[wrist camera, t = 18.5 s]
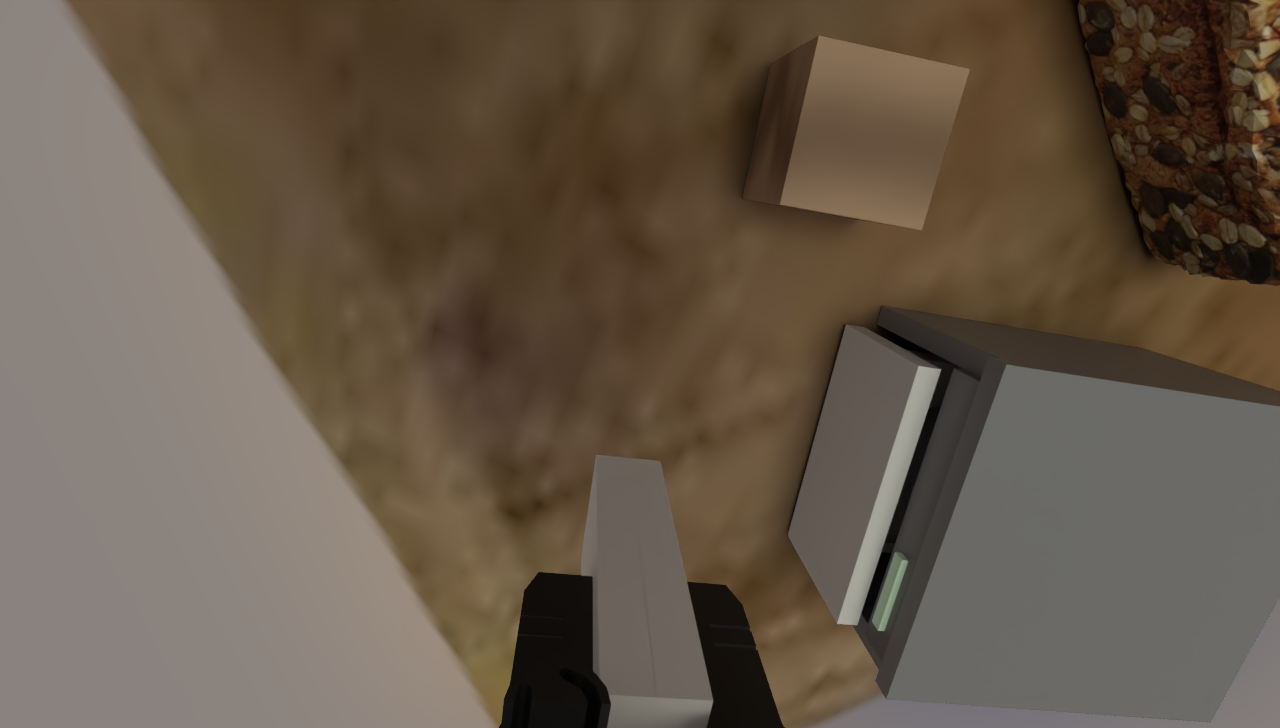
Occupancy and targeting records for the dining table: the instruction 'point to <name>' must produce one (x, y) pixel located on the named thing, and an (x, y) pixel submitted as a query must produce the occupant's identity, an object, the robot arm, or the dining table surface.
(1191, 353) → the dining table surface
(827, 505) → the grey drawer
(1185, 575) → the grey drawer cabinet
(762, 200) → the riser cube
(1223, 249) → the bread
